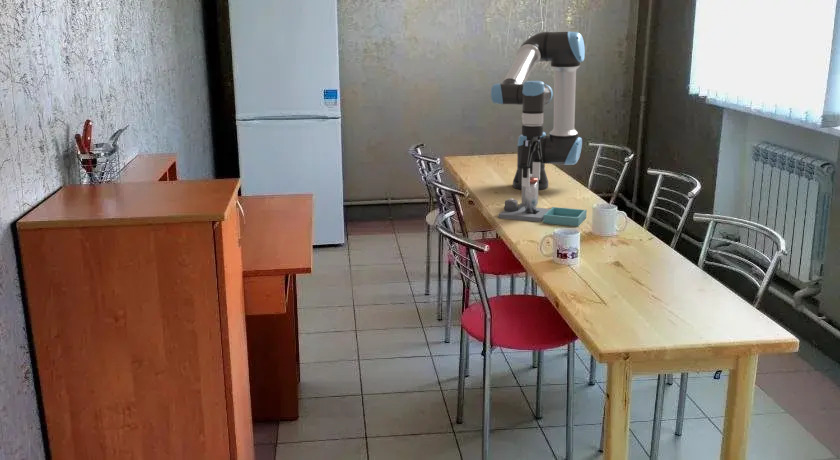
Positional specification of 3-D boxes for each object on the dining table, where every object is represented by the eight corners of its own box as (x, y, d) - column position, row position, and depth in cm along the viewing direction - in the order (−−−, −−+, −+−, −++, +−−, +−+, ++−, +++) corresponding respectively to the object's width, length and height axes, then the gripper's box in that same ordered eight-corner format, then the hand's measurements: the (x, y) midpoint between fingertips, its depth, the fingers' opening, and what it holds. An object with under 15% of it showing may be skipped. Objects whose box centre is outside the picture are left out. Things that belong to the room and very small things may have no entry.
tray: (552, 214, 293) (552, 206, 292) (586, 217, 288) (586, 209, 287) (543, 223, 282) (543, 214, 281) (578, 226, 277) (578, 218, 276)
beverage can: (537, 207, 304) (538, 176, 301) (520, 206, 305) (521, 176, 302) (538, 203, 310) (539, 173, 307) (521, 202, 311) (522, 173, 308)
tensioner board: (509, 209, 302) (510, 194, 300) (551, 212, 296) (551, 197, 294) (498, 217, 290) (498, 202, 288) (541, 221, 283) (541, 206, 282)
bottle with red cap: (526, 213, 295) (527, 176, 291) (538, 214, 293) (539, 177, 289) (522, 216, 291) (523, 179, 287) (534, 217, 289) (535, 179, 285)
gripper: (532, 120, 295) (530, 176, 301) (511, 128, 273) (510, 188, 279) (551, 121, 292) (549, 177, 298) (532, 129, 270) (531, 190, 276)
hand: (530, 183), depth 288 cm, fingers open, 13 cm apart
